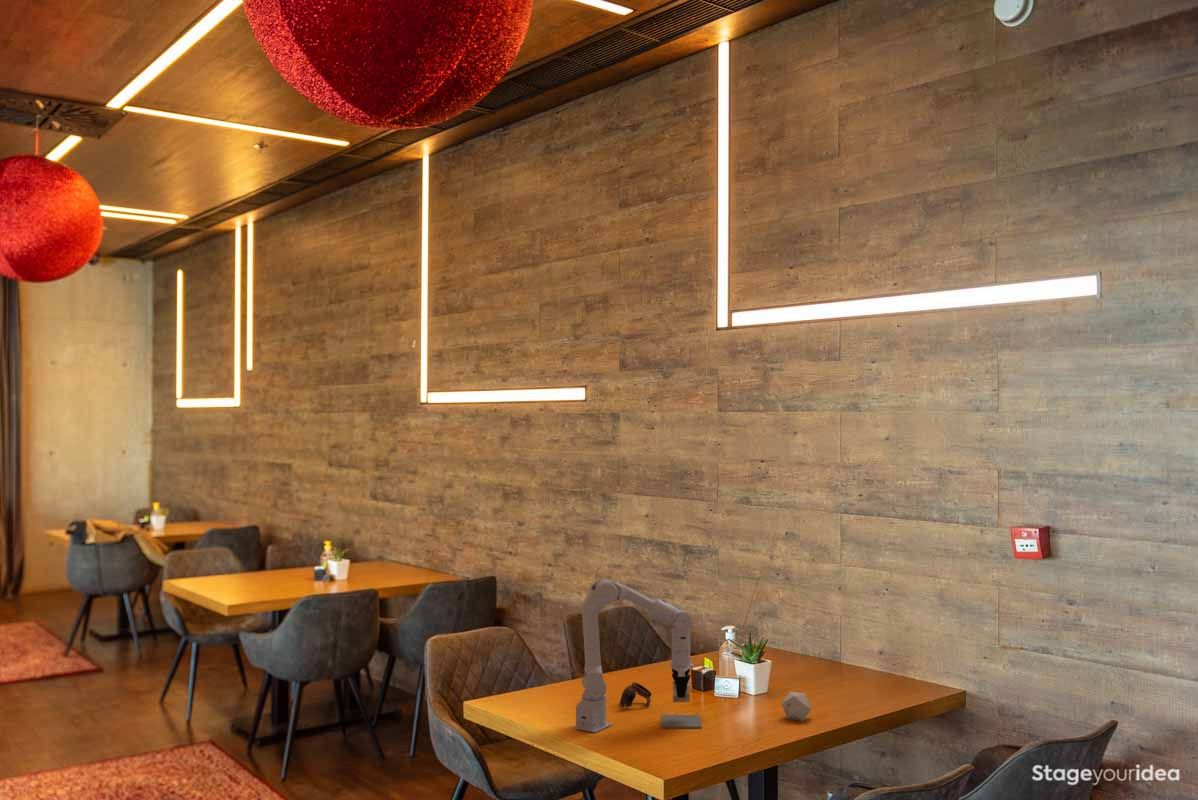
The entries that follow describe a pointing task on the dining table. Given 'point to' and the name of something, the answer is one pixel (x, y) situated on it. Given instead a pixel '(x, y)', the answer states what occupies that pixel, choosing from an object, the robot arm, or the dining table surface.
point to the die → (796, 706)
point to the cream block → (676, 699)
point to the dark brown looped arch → (634, 694)
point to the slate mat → (681, 721)
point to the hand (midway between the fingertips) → (681, 694)
